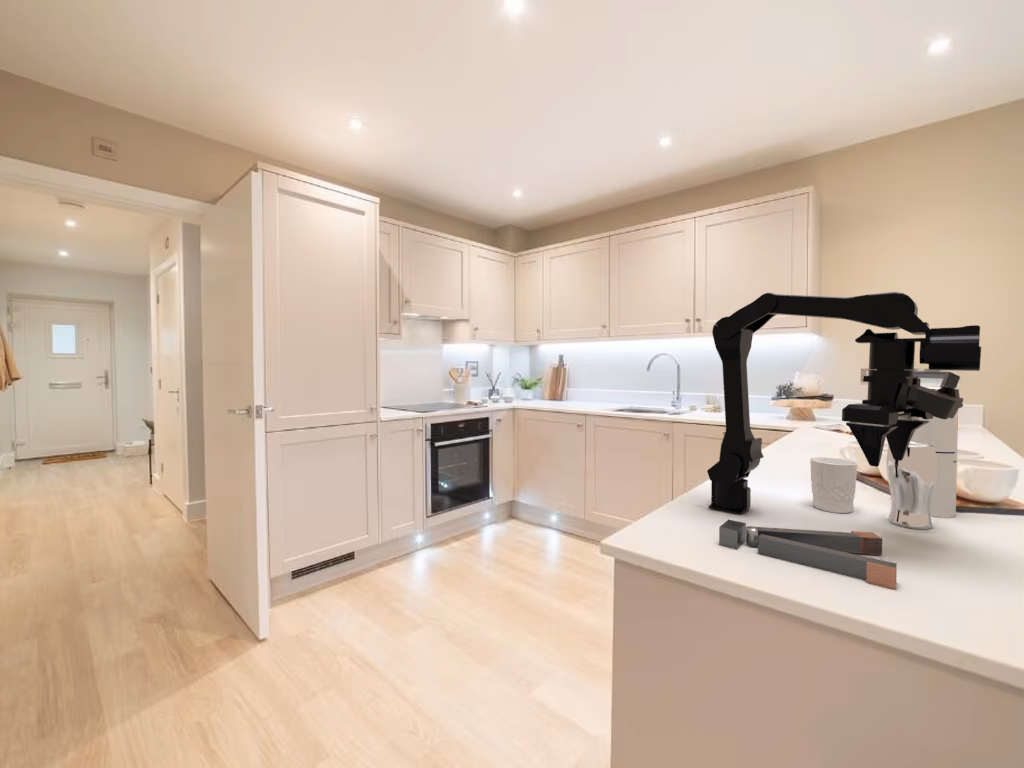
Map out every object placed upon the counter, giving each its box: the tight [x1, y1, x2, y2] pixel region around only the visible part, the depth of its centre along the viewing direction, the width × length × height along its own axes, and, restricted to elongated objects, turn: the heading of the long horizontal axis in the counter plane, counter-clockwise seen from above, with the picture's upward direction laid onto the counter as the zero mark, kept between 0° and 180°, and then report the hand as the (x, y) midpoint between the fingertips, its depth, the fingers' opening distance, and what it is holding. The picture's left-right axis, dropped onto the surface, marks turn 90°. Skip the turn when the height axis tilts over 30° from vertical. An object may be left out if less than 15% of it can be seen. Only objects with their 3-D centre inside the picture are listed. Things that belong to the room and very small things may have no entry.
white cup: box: [809, 456, 858, 514], centre depth 92 cm, size 8×8×10 cm
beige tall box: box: [910, 386, 959, 519], centre depth 89 cm, size 7×7×25 cm
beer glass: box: [886, 442, 937, 531], centre depth 82 cm, size 7×7×15 cm
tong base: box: [718, 519, 898, 590], centre depth 68 cm, size 22×5×3 cm, turn 47°
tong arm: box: [745, 525, 883, 556], centre depth 72 cm, size 19×3×3 cm, turn 77°
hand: (886, 463), depth 74 cm, fingers open, 9 cm apart
